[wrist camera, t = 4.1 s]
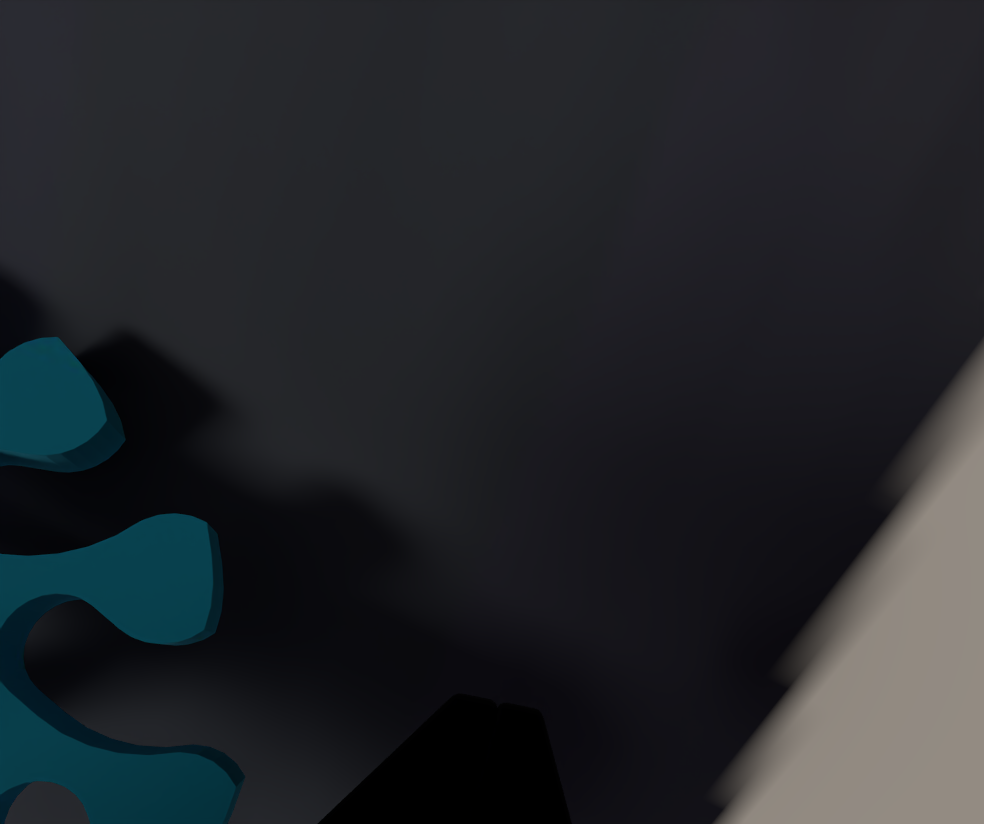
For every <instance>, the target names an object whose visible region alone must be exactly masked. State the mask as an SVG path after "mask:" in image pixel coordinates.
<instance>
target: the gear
mask: <svg viewBox="0 0 984 824" xmlns="http://www.w3.org/2000/svg"><path fill="white" fill-rule="evenodd" d="M125 440H126V439H125V435H124V431H123V427H122V423H121V420H120V418H119V416H118V414H117V412H116V409H115V407H114V405H113V403H112V402H111V400H110V399H109V398H108V396H107V395H106V393H105V392H104V390H103V389H102V388H101V386H100V385H99V384H98V383H97V381H96V380H95V379H94V378H93V377H92V376H91V374H90V373H89V372H88V371H87V370H86V369H85V367H84V366H83V365H82V364H81V363H80V362H79V360H78V359H77V358H76V357H75V356H74V355H73V354H72V352H71V351H70V350H69V349H68V348H67V347H66V346H65V344H64V343H63V342H62V341H61V340H60V339H59V338H58V337H49V338H39V339H36V340H32V341H28V342H25V343H23V344H21V345H19V346H17V347H16V348H14V349H12V350H10V351H9V352H7V353H6V354H5V355H4V356H3V357H2V358H1V359H0V466H6V465H17V466H25V467H31V468H37V469H43V470H49V471H54V472H68V473H69V472H77V471H83V470H86V469H89V468H92V467H95V466H97V465H99V464H101V463H102V462H104V461H106V460H107V459H109V458H110V457H111V456H112V455H113V454H114V453H115V452H117V451H118V450H119V448H120V447H121V446H122V444H123V443H124V442H125ZM223 592H224V585H223V567H222V559H221V553H220V546H219V540H218V534H217V533H216V532H215V531H214V529H213V528H212V527H211V526H210V525H209V524H208V523H207V522H205V521H203V520H200V519H198V518H196V517H193V516H190V515H183V514H177V513H172V514H161V515H156V516H153V517H150V518H147V519H144V520H141V521H140V522H138V523H136V524H135V525H133V526H131V527H129V528H128V529H126V530H124V531H123V532H121V533H119V534H117V535H116V536H113V537H111V538H108V539H106V540H103V541H101V542H98V543H96V544H93V545H91V546H88V547H84V548H80V549H75V550H71V551H67V552H63V553H58V554H46V555H33V556H22V555H9V554H0V824H4V822H5V819H6V816H7V814H8V811H9V808H10V807H11V805H12V803H13V802H14V800H15V799H16V797H17V796H18V795H19V794H20V793H21V792H22V791H23V790H24V789H25V788H26V786H27V785H29V784H30V783H32V782H34V781H45V782H53V783H56V784H59V785H61V786H64V787H66V788H67V789H69V790H70V791H71V792H73V793H74V794H75V795H76V796H77V797H78V798H79V800H80V801H81V802H82V804H83V805H84V807H85V810H86V812H87V815H88V817H89V821H90V824H227V823H228V821H229V819H230V817H231V815H232V812H233V810H234V807H235V804H236V801H237V798H238V796H239V793H240V790H241V787H242V784H243V782H244V779H245V775H244V774H243V772H242V771H241V769H240V768H239V766H238V765H237V763H235V762H234V761H233V760H232V759H231V758H230V757H228V756H227V755H226V754H225V753H223V752H221V751H218V750H216V749H214V748H211V747H208V746H201V745H184V746H174V747H153V746H139V745H134V744H130V743H126V742H122V741H118V740H114V739H111V738H109V737H106V736H104V735H102V734H100V733H98V732H95V731H93V730H91V729H89V728H87V727H85V726H84V725H82V724H81V723H80V722H78V721H77V720H75V719H74V718H73V717H71V716H70V715H68V714H67V713H66V712H64V711H63V710H62V709H61V708H60V707H58V706H57V705H56V704H55V703H54V702H53V701H52V700H50V699H49V698H48V697H47V696H46V695H45V694H44V693H42V692H41V691H40V690H39V689H38V688H37V687H36V686H35V685H34V684H33V682H32V681H31V680H30V678H29V676H28V674H27V672H26V669H25V663H24V647H25V643H26V640H27V637H28V634H29V632H30V631H31V629H32V628H33V626H34V624H35V623H36V622H37V621H38V620H39V619H40V618H41V617H42V616H43V615H44V614H45V613H46V612H47V611H49V610H50V609H52V608H53V607H55V606H57V605H60V604H62V603H65V602H67V601H73V600H79V599H81V600H84V601H86V602H88V603H89V604H91V605H92V606H93V607H94V608H96V609H97V610H98V611H99V612H100V613H101V614H102V615H104V616H105V617H106V618H107V619H108V620H109V621H111V622H112V623H113V624H114V625H115V626H116V627H118V628H119V629H120V630H122V631H123V632H125V633H126V634H128V635H129V636H131V637H133V638H135V639H138V640H141V641H144V642H148V643H156V644H165V645H173V646H178V645H188V644H192V643H195V642H199V641H202V640H204V639H206V638H208V637H209V636H211V635H213V634H215V633H216V629H217V626H218V622H219V619H220V616H221V612H222V602H223Z"/></svg>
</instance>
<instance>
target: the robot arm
mask: <svg viewBox="0 0 984 824" xmlns="http://www.w3.org/2000/svg"><path fill="white" fill-rule="evenodd" d="M318 824H572V823H571V819H570V815H569V812H568V808H567V804H566V800H565V797H564V793H563V789H562V785H561V782H560V778H559V774H558V770H557V767H556V763H555V759H554V755H553V752H552V748H551V744H550V740H549V737H548V733H547V729H546V725H545V722H544V718H543V716H542V714H541V712H540V711H539V710H537V709H534V708H530V707H525V706H520V705H515V704H510V703H502V704H500V705H499V706H498V708H497V706H496V703H495V702H494V701H493V700H490V699H485V698H480V697H475V696H471V695H466V694H456V695H454V696H452V697H451V698H450V699H449V700H448V701H447V702H446V703H445V704H444V705H442V706H441V707H440V708H439V709H438V710H437V711H436V712H435V713H434V714H433V715H432V716H431V717H430V718H429V719H428V720H427V721H426V722H424V723H423V724H422V725H421V726H420V727H419V728H418V729H417V730H416V731H415V732H414V733H413V734H412V735H411V736H410V737H409V738H408V739H407V740H405V741H404V742H403V743H402V744H401V745H400V746H399V747H398V748H397V749H396V750H395V751H394V752H393V753H392V754H391V755H390V756H389V757H387V758H386V759H385V760H384V761H383V762H382V763H381V764H380V765H379V766H378V767H377V768H376V769H375V770H374V771H373V772H372V773H371V774H370V775H368V776H367V777H366V778H365V779H364V780H363V781H362V782H361V783H360V784H359V785H358V786H357V787H356V788H355V789H354V790H353V791H352V792H350V793H349V794H348V795H347V796H346V797H345V798H344V799H343V800H342V801H341V802H340V803H339V804H338V805H337V806H336V807H335V808H334V809H333V810H331V811H330V812H329V813H328V814H327V815H326V816H325V817H324V818H323V819H322V820H321V821H320V822H319V823H318Z"/></svg>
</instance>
